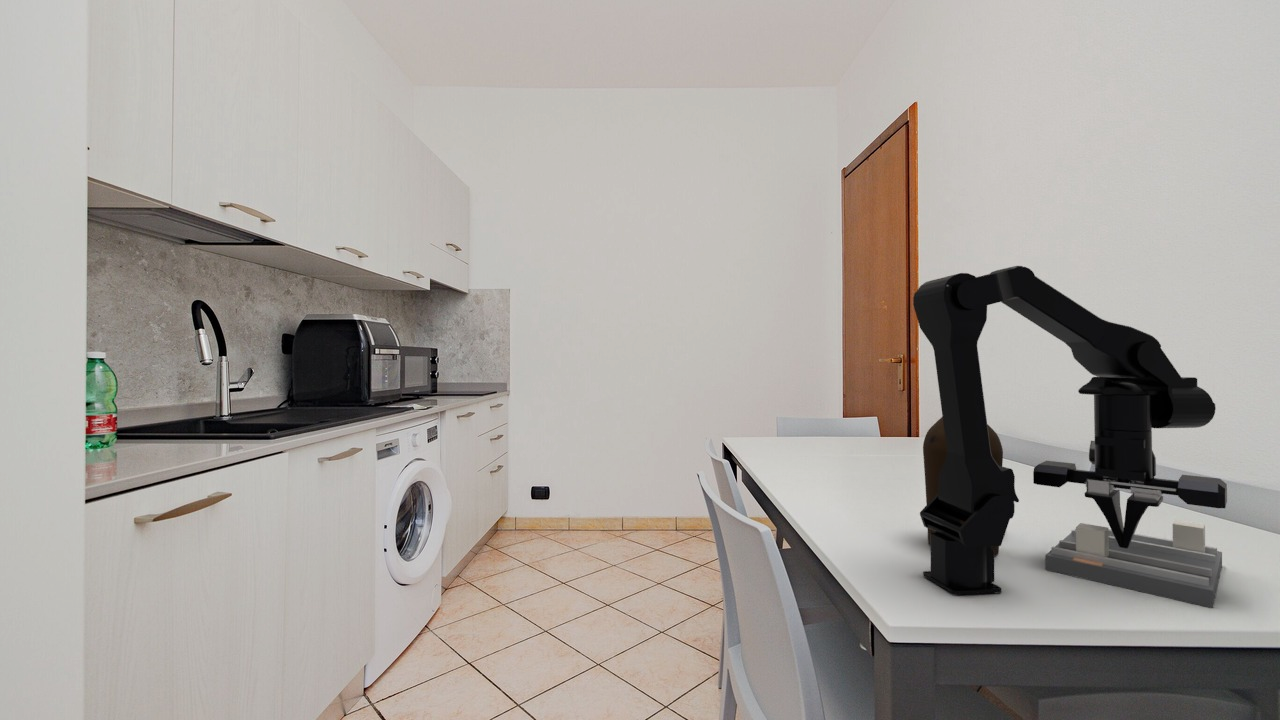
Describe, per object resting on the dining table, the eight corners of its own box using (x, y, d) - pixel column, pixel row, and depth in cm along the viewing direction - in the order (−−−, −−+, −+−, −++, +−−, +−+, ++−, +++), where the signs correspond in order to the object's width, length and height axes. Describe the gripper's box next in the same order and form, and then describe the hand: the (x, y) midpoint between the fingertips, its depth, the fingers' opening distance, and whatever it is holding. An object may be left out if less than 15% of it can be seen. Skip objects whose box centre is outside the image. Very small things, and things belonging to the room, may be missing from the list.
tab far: (1203, 556, 74) (1203, 528, 75) (1172, 550, 77) (1172, 523, 77) (1205, 551, 76) (1204, 524, 77) (1175, 545, 79) (1174, 519, 79)
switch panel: (1212, 608, 64) (1212, 583, 64) (1045, 569, 76) (1045, 549, 76) (1222, 566, 77) (1221, 546, 77) (1078, 539, 89) (1078, 521, 89)
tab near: (1104, 560, 73) (1104, 532, 73) (1076, 554, 75) (1075, 527, 75) (1108, 554, 75) (1108, 527, 75) (1081, 549, 77) (1080, 522, 77)
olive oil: (988, 566, 77) (986, 387, 78) (911, 546, 85) (910, 385, 86) (1014, 549, 84) (1012, 385, 84) (940, 533, 92) (939, 384, 92)
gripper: (1227, 430, 71) (1229, 551, 71) (1051, 419, 85) (1052, 521, 85) (1223, 437, 64) (1226, 572, 64) (1031, 425, 78) (1033, 536, 78)
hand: (1124, 547), depth 73 cm, fingers closed
